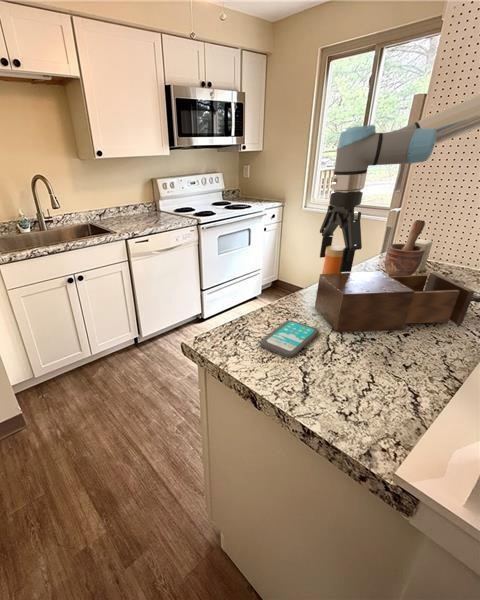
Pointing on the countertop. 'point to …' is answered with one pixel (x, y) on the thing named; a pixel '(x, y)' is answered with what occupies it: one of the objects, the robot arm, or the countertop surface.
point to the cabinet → (363, 301)
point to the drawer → (437, 298)
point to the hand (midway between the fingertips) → (334, 263)
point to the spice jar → (332, 259)
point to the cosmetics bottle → (427, 246)
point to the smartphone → (289, 338)
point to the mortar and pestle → (405, 254)
